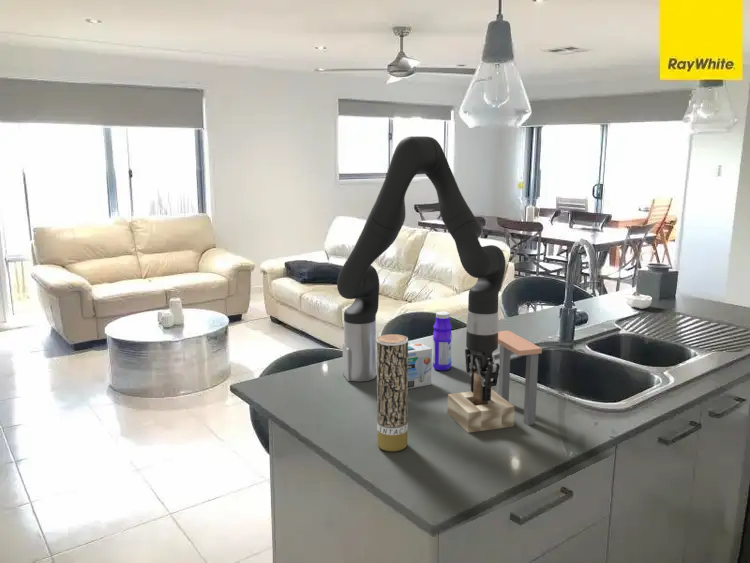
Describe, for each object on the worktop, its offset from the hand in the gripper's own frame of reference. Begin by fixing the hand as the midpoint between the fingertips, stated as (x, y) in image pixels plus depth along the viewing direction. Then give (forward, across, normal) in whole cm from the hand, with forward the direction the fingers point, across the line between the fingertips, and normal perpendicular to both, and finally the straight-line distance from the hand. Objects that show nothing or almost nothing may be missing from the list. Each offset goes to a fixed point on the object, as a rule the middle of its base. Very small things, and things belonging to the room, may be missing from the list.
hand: (480, 395), depth 150 cm
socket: (+6, 0, 0) cm, 6 cm away
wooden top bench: (+6, +1, -9) cm, 11 cm away
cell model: (+6, +83, -115) cm, 142 cm away
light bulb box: (+6, +28, +8) cm, 30 cm away
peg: (+6, 0, 0) cm, 6 cm away
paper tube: (+6, -7, +25) cm, 27 cm away
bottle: (+6, +38, -6) cm, 39 cm away
